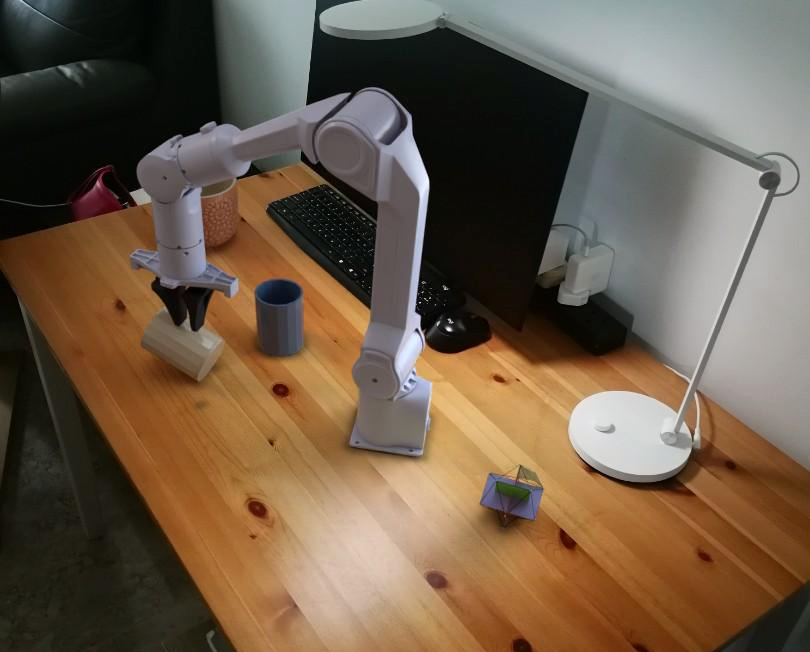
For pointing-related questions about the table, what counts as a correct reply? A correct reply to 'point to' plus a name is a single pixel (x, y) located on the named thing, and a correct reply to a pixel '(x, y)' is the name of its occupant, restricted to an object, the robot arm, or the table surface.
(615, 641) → the table surface
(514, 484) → the geometric puzzle
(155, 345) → the cream cup
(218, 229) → the planter
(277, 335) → the blue cup
